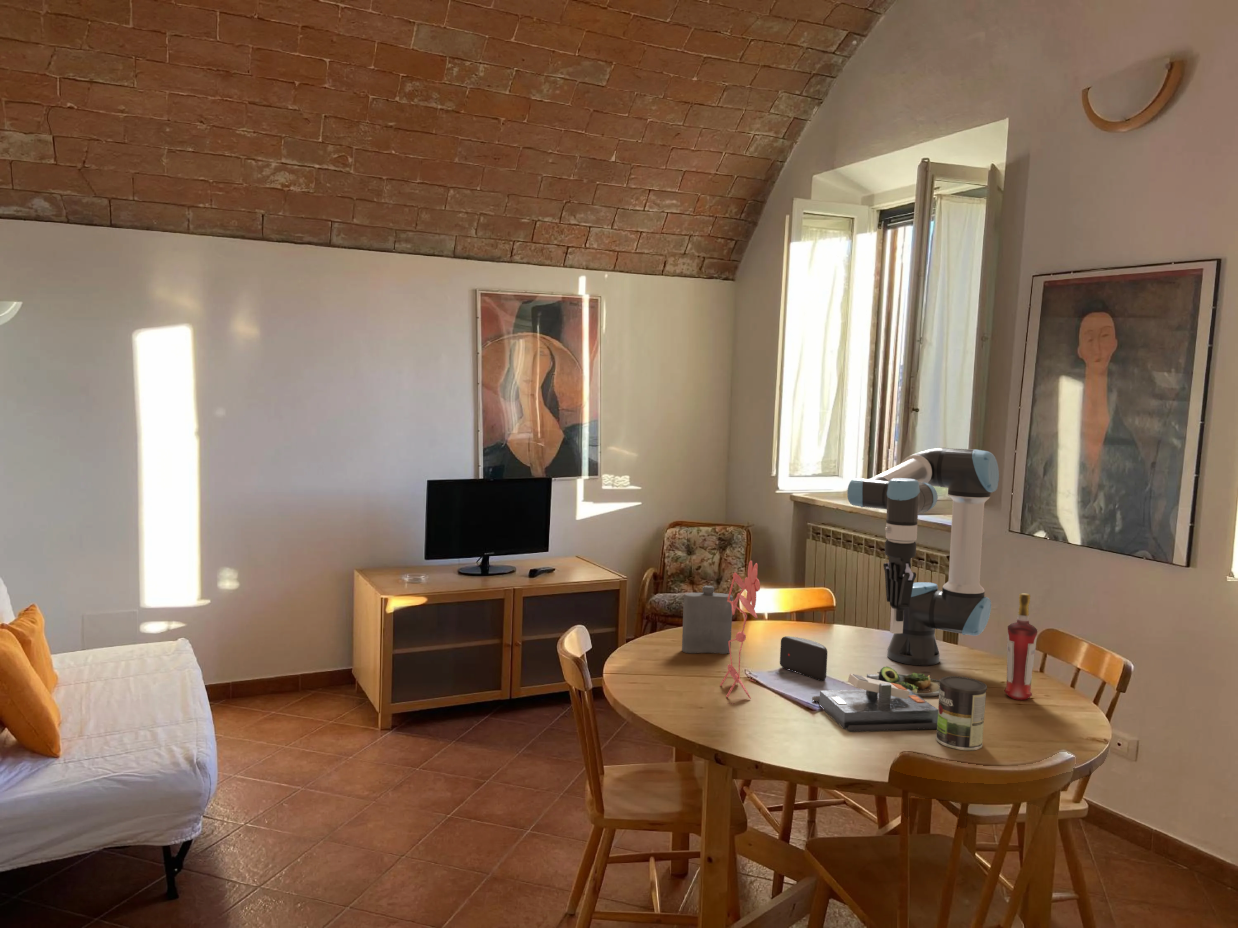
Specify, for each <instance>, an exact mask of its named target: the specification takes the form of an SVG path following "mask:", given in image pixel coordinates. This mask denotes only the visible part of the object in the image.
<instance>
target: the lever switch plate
mask: <svg viewBox="0 0 1238 928" xmlns="http://www.w3.org/2000/svg"><path fill="white" fill-rule="evenodd" d="M878 675H879V674H877V673H875V674H872V673H871V674H868V673H867V674H866V677H867V678H871V679H876V680H878V679H879V676H878ZM907 690H908V691H910V693H909V696H908V699H904V698H899V697H895V696H891V685H890V684H889V683H880V684H879V693H877V692H873V691H868V690H864V689H842V690H841V689H837V690H834V689H831V690H819V696H820V701H819V702H818V705H819V704H820V705H821V706H822V707H823V708H824V710H823V711H824V712H825V713H826V714H827V715H828V717H830V718H832V720H833V721H835V722H836V724H838V725H839V726H840V727H841V728H842V729H843V730H848V726H849V725H878V724H915V723H937V721H938V708H936V707H935V706H934V705H933V704H930V702H928V701H926V700H925V699H923V697H919V696H918V695H916V694H915V693H914V692H912V691H911V690H909V689H907Z"/></svg>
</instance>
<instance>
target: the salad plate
mask: <svg viewBox="0 0 1238 928" xmlns="http://www.w3.org/2000/svg"><path fill="white" fill-rule="evenodd" d="M876 674H877V675H878V676H879V679H878V680H880V681H885V682H889V683H895V684H899V685H901V686H903V687H904V688H905V689H909V690H911V691H912V692H914V693H915V694H916V695H918V696H919V697H921V698H924V697H925V698H927V697H937V696H939V690H940V683H939V680H940V679H935V678H930V677H931V675H925V674H924V673H917V672H914V671H913V672H912V673H911V674H901V673H898V672H897V671H896V670H895V669H894V668H892V667H890V666H883V667H882V668H880V671H877V673H876ZM918 690H919V691H928V690H930V691H931V692H930V691H929V692H927V693H925V692H924V693H923V692H921V693H918Z"/></svg>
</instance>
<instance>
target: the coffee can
mask: <svg viewBox="0 0 1238 928" xmlns="http://www.w3.org/2000/svg"><path fill="white" fill-rule="evenodd" d="M938 680H939V683H940V685H939V686H940V690H939V695H938V707H937V709H938V721H937V729H936V736H935V739H936V740H935V741H936V742H938V743H939V744H940V745H943V746H944V747H947V748H950V749H954V750H958V751H967V752H968V751H969V752H970V751H976V750H979V749H982V748H983V739H984V737H983V736H984V724H985V723H984V722H985V707H986V697H987V690H988V686H987V684H986V683H985V682H983V681H980V680H978V679H975V678H970V677H966V676H957V675H951V676H950V675H948V676H943V677H941V678H940V679H938Z"/></svg>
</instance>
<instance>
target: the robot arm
mask: <svg viewBox="0 0 1238 928" xmlns="http://www.w3.org/2000/svg"><path fill="white" fill-rule="evenodd" d="M998 464H999V463H998V461H997V458H996V457H995V455H994V454H993V453H992V452H990V451H988V450H983V449H982V450H981V449H975V448H973V449H971V448H949V447H935V448H934V447H933V448H928V449H925V450H922V451H918V452H916V453H912V454H910V455H908V456H906V457H905V458H904V459H903V460H902V461H901V463H899V464H897V465H895V466H893V467H891V468H889V469H887V470H885V471H883V472H881V473H879V474H876V475H874V476H872V477H871V478H863V477H860V478H856V477H855V478H852V479H851V480H850V481H849V483H848V486H847V494H846V495H847V500H848V502H849V504H850V505H852V506H855V507H860V508H871V509H880V510H886V519H885V527H884V531H885V538H886V540H885V541H884V555H886V556H887V557H889V558H888V562H884V563H883V570H884V577H885V578H884V579H885V595H886V598H885V599H886V602H888V603H889V606H890V624H889V632H890V633H891V634H893V635H892V637H891V640H890V642H889V644H888V647H887V651H886V652H887V658H889V659H890V660H892V661H894V662H897V663H901V664H904V665H913V666H933V665H937V664H939V662H940V652H939V647H938V644H937V639H936V635H935V634H936V633H935V632H936V630H939V631H946V632H951V633H956V634H961V635H963V636H966V635H967V636H974V637H976V636H979V635H981V634H982V633H983V631H984V630H985V629H986V627H987V624H988V623H989V620H990V616H991V610H992V600H991V599H990V598H989V597H988V596H985V595H986V594H985V592H986V591H985V588H984V587H983V586H982V585H981V583H980V582H981V581H980V579H981V566H982V565H981V562H982V550H983V547H982V545H983V531H984V517H985V516H984V513H985V503H986V502H987V501H988V500H989V499H990V498H991V495H992V494H991V493H993V492H996V491H997V490H998V488H999V487H998V486H999V482H1000V471H999V465H998ZM935 487H940V488H946V489H947V496H948V497H949V498H950V499H951V500H952V510H951V511H952V512H951V527H950V528H951V531H950V545H949V563H948V564H949V565H948V566H949V567H948V581H947V582H945V583H944V584H943V585H942V590H941V589H939V586H938V584H937V583H934V582H928V581H927V582H925V581H923V582H921V581H919V582H915V579H916V577H917V573H916V572H913V571H912V568H911V567H912V563H911V560H912V559H913V558H915V557H916V555H917V542H916V541H917V540H918V538H917V537H918V519H919V517H918V516H919V514H921V513H926V512H929V511H930V510H932V509H933V508H934V507H935V506H936V505H937V502H938V498H939V497H938V493H937V490H936V488H935Z"/></svg>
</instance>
